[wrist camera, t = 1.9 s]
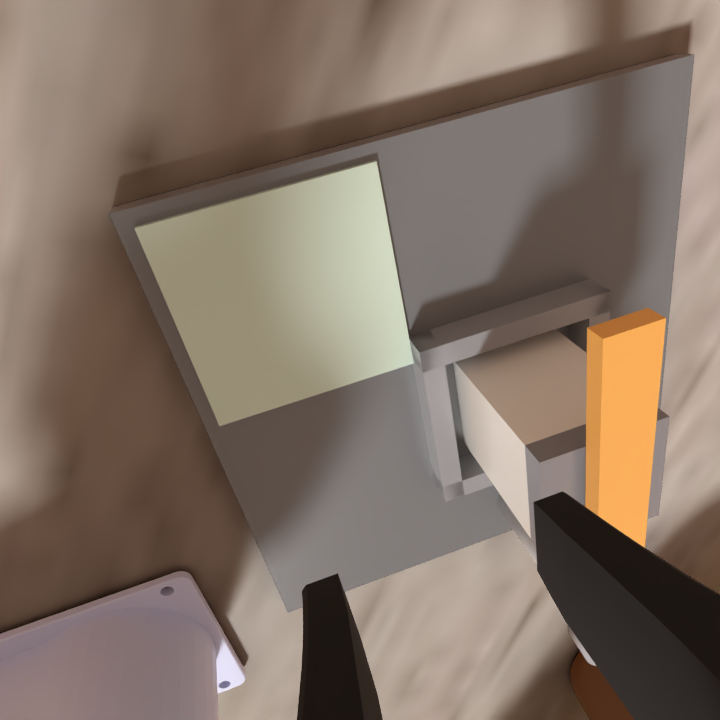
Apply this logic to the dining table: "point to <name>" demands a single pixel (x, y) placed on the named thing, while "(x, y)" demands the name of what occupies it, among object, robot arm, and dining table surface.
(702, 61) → the dining table surface
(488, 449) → the plug
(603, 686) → the mug
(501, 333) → the socket board
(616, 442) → the orange flat bar
